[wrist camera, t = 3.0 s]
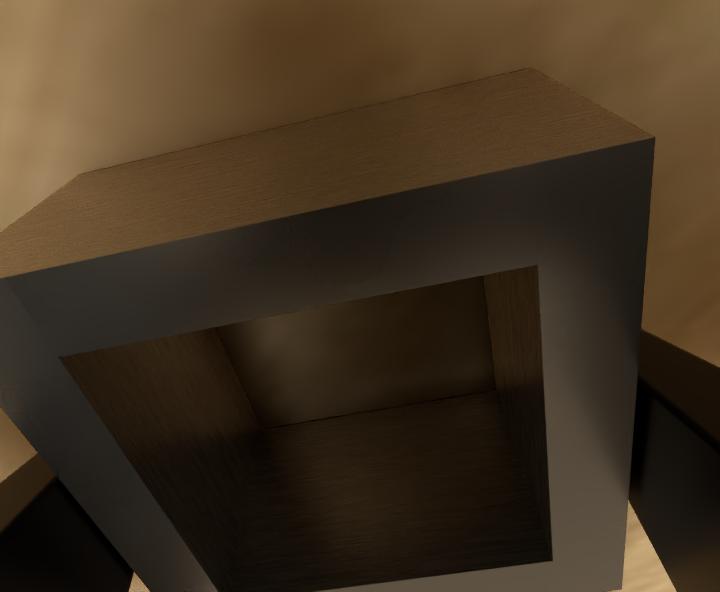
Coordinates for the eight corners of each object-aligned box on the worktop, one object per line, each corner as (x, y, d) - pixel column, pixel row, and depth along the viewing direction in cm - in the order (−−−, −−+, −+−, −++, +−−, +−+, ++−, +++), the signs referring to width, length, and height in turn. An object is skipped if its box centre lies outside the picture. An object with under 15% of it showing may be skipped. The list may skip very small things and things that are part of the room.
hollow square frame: (548, 417, 11) (621, 589, 8) (234, 467, 12) (190, 641, 9) (532, 67, 7) (655, 137, 4) (79, 174, 8) (-88, 297, 5)
